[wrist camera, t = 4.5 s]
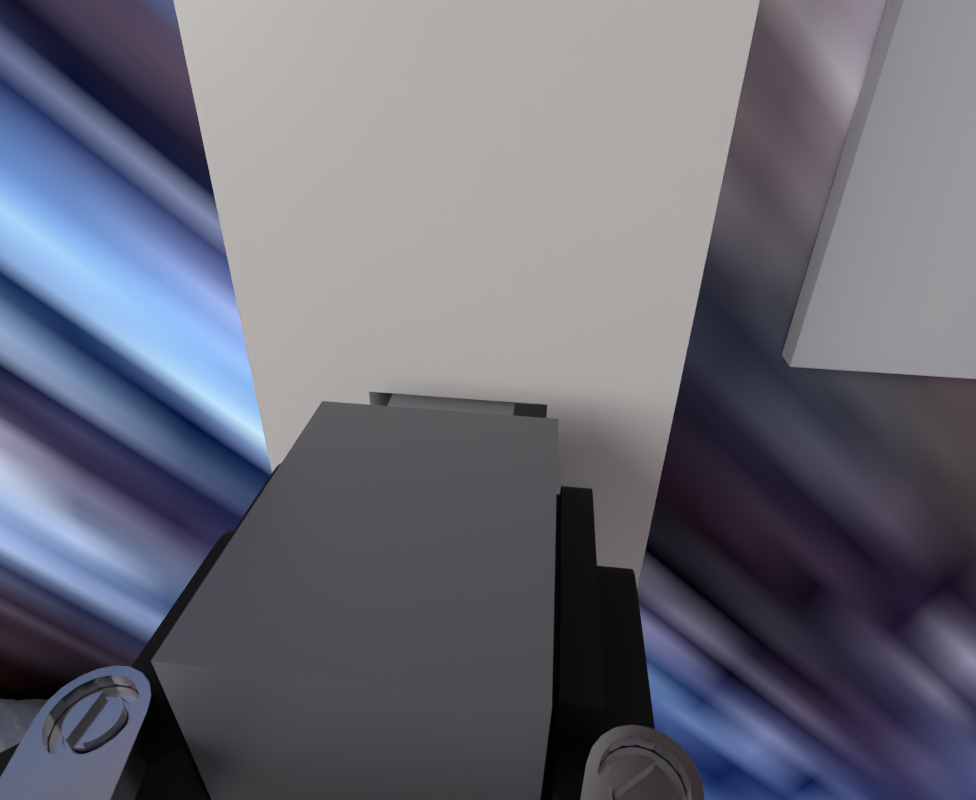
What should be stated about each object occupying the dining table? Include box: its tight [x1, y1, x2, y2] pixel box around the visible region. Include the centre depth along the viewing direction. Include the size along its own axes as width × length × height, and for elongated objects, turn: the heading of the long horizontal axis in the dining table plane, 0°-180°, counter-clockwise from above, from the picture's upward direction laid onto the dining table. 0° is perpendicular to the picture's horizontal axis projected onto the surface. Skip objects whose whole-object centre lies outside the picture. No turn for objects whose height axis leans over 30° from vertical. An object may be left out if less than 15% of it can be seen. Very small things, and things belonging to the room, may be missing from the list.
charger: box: [151, 393, 558, 800], centre depth 10 cm, size 5×4×7 cm
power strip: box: [174, 0, 760, 588], centre depth 11 cm, size 24×8×4 cm, turn 179°
